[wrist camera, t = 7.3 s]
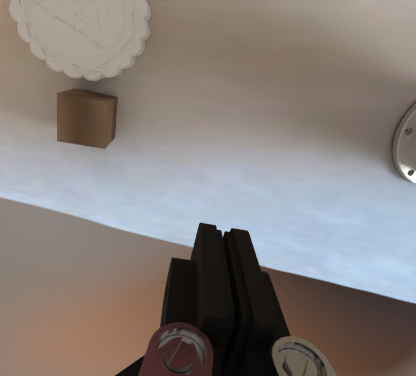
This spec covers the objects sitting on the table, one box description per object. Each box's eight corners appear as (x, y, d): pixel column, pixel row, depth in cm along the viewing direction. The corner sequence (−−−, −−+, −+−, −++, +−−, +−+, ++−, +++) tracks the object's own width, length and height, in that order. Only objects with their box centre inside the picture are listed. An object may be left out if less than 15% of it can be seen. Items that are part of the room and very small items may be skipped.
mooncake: (174, -6, 29) (173, -14, 25) (117, 102, 32) (109, 107, 29) (53, -99, 25) (34, -123, 22) (4, 32, 29) (-20, 29, 25)
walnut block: (117, 96, 32) (108, 102, 28) (114, 137, 33) (105, 148, 29) (74, 88, 31) (57, 93, 27) (73, 130, 33) (57, 141, 29)
